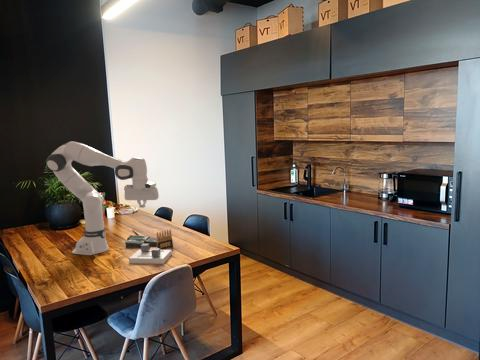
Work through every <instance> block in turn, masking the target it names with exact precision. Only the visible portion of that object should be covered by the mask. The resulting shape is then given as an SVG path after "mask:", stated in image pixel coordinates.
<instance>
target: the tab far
mask: <svg viewBox="0 0 480 360" xmlns="http://www.w3.org/2000/svg"><path fill="white" fill-rule="evenodd" d="M140 249H141V252H148V251H149V250H150V246H149V244H142V245H141V246H140Z"/></svg>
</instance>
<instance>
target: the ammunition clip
mask: <svg viewBox="0 0 480 360" xmlns="http://www.w3.org/2000/svg"><path fill="white" fill-rule="evenodd" d="M172 235H173V234H172V231H171V229H169V230H168V229H166V230H164V231H163V230H162V231H159V232H158V231H157V232H156V238H157V246H156V248H160V250H167V249H169V248H174V241H173V236H172Z"/></svg>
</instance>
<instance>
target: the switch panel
mask: <svg viewBox="0 0 480 360" xmlns="http://www.w3.org/2000/svg"><path fill="white" fill-rule="evenodd" d="M152 249H153V248H152ZM152 249H150V250H149V251H148V252H141V248H140V249H138V250H137V251H136V252H134V253H133V254H131V256H130V257H129V258H128V262H129V264H157V265H159V264H160V265H164V264H165V262H167V261H168V260H169V258H171V256H172V255H173V249H162V250H160V253H161V255H160V256H159V257H152V252H151V250H152Z"/></svg>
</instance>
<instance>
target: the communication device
mask: <svg viewBox="0 0 480 360" xmlns="http://www.w3.org/2000/svg"><path fill="white" fill-rule="evenodd" d="M131 231H132V232H133V233H134V234H135V235H129V236H128V237H127V239H126V241H125V242H124V244H125V246H126V248H139V247H141V245H142V244H149V247H150V246H153V247H154V246H155V247H157V237H151V236H150V235H149V236H148V235H139V234H138V233H137V232H136V231H135V230H133V229H132V230H131Z"/></svg>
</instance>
